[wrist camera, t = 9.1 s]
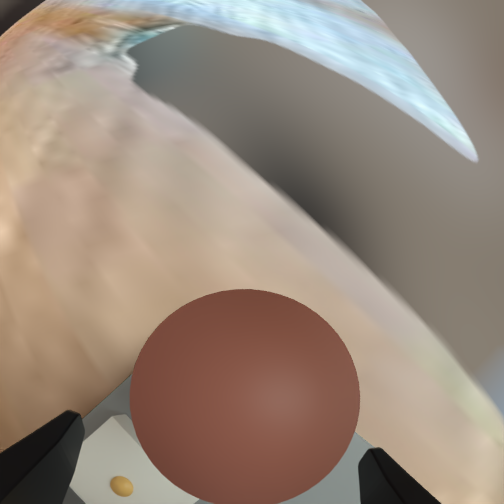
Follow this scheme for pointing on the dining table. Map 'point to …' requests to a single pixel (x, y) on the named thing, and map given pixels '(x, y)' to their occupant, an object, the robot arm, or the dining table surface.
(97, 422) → the subfloor panel
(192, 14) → the dining table surface
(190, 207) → the dining table surface
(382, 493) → the robot arm
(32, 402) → the dining table surface
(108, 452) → the block
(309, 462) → the joystick
